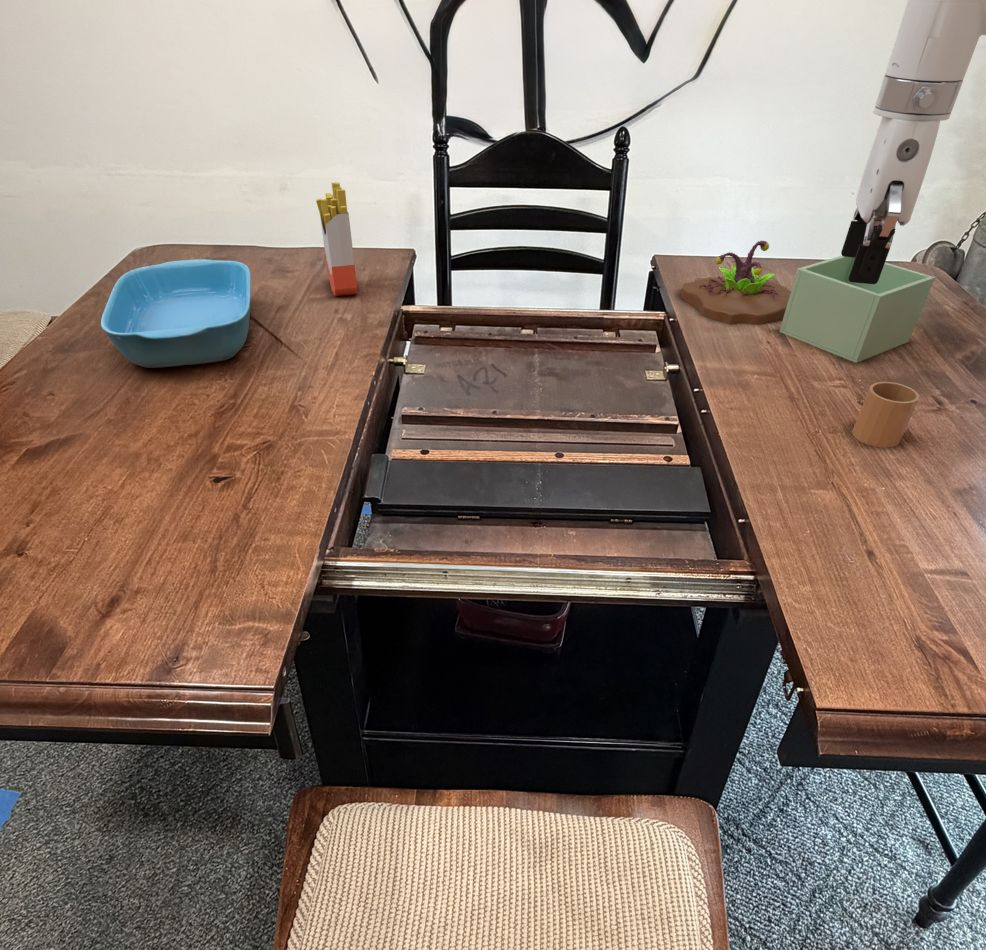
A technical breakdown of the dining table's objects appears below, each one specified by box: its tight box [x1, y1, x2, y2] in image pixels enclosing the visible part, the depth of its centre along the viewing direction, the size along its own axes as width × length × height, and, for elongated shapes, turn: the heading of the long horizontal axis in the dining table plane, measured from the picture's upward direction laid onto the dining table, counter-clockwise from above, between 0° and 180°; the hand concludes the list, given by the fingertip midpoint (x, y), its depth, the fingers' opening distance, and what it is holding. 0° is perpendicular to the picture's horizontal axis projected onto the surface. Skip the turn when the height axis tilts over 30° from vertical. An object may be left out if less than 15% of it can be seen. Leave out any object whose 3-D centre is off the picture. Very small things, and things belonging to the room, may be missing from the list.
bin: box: [779, 255, 936, 364], centre depth 118 cm, size 15×15×11 cm
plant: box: [680, 240, 791, 326], centre depth 129 cm, size 20×20×11 cm
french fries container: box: [315, 181, 358, 297], centre depth 130 cm, size 5×11×18 cm, turn 17°
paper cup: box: [851, 381, 920, 449], centre depth 95 cm, size 6×6×7 cm
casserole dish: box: [100, 258, 252, 369], centre depth 118 cm, size 37×22×7 cm, turn 14°
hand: (857, 269), depth 86 cm, fingers open, 9 cm apart
